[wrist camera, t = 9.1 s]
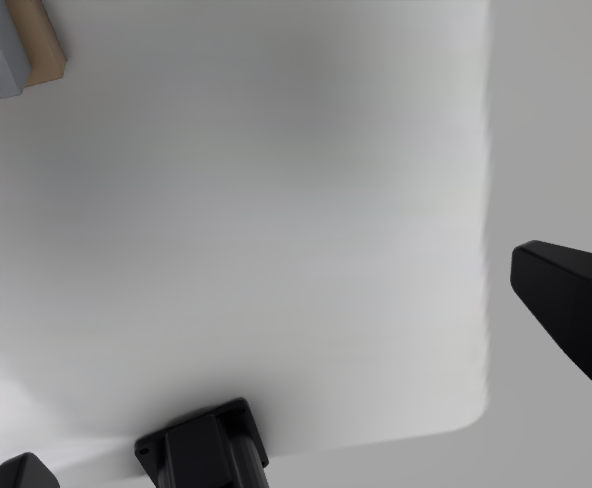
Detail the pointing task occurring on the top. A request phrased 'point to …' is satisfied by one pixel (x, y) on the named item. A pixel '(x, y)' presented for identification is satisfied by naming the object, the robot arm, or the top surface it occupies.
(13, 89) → the tower top
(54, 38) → the tower base
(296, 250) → the top surface
